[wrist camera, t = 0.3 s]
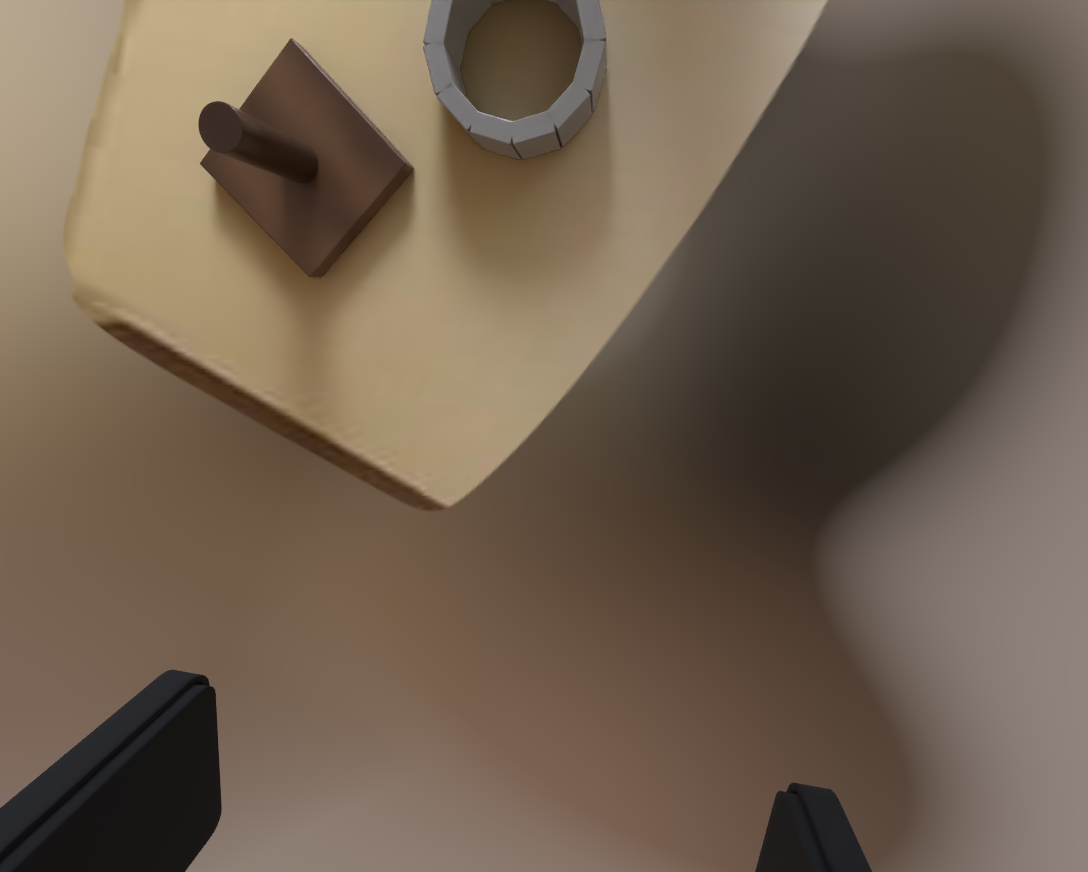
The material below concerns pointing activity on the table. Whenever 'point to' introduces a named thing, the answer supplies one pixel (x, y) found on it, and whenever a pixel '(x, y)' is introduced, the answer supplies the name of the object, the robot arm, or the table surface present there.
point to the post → (302, 160)
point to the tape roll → (445, 39)
